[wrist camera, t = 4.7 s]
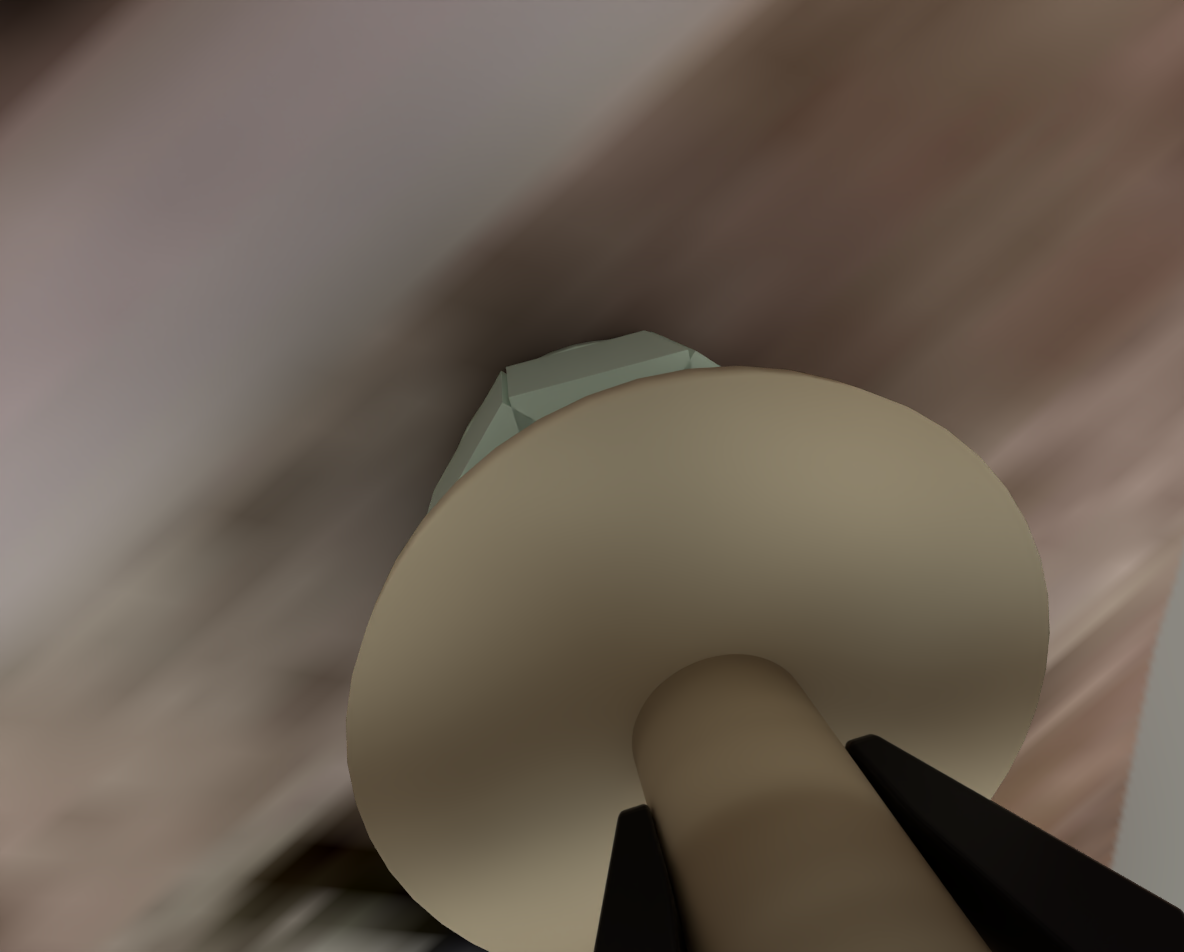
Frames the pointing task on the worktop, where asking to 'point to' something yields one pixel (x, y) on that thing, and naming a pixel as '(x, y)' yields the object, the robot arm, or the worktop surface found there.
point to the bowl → (560, 389)
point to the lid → (697, 665)
